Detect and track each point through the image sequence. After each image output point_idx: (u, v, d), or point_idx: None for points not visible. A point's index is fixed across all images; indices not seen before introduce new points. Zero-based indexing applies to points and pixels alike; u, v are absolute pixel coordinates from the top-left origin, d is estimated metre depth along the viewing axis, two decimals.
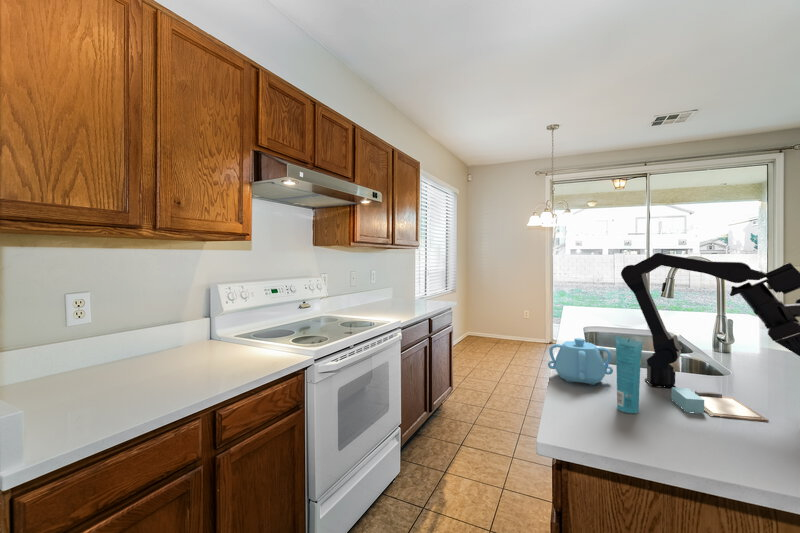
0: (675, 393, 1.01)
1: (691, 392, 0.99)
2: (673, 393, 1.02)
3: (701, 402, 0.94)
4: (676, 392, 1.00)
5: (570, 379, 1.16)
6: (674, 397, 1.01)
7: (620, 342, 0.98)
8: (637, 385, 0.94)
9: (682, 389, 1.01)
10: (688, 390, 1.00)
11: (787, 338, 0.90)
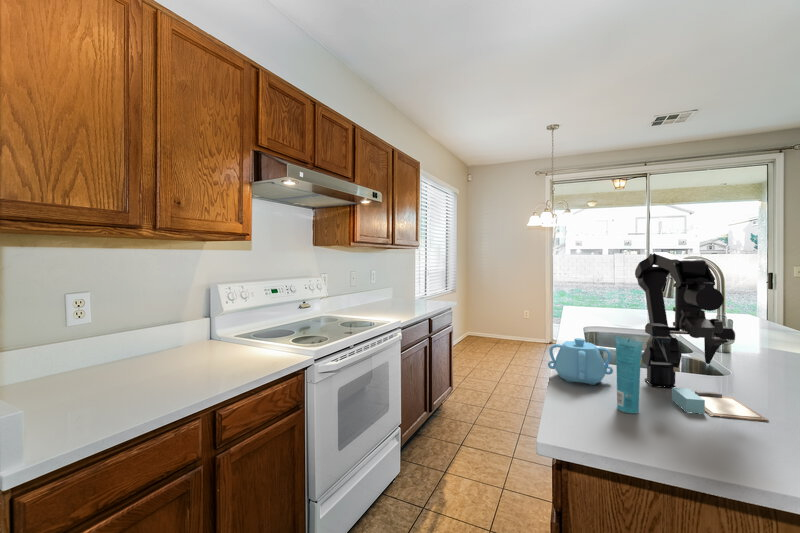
0: (675, 393, 1.01)
1: (691, 392, 0.99)
2: (673, 393, 1.02)
3: (701, 402, 0.94)
4: (676, 392, 1.00)
5: (570, 379, 1.16)
6: (674, 397, 1.01)
7: (620, 342, 0.98)
8: (637, 385, 0.94)
9: (683, 389, 1.01)
10: (688, 390, 1.00)
11: (653, 335, 1.01)
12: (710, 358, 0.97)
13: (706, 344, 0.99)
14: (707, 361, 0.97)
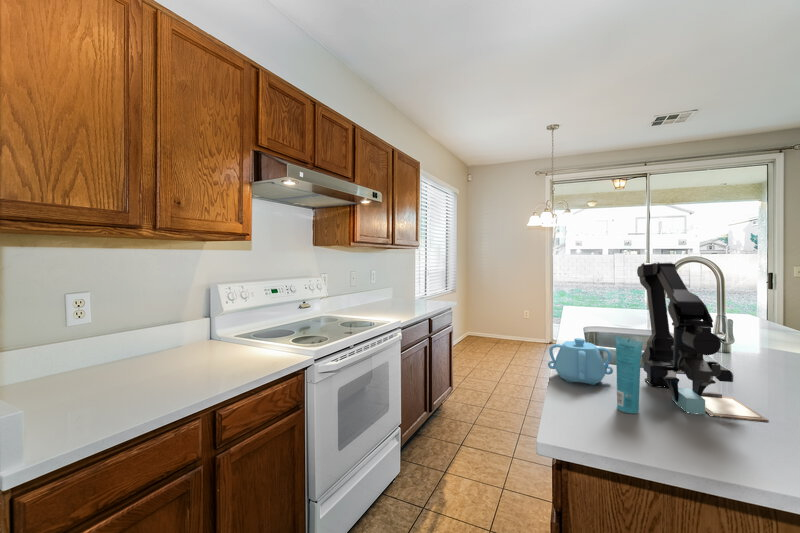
0: None
1: (692, 392, 0.99)
2: None
3: (702, 402, 0.94)
4: None
5: (570, 379, 1.16)
6: None
7: (620, 342, 0.98)
8: (637, 385, 0.94)
9: (683, 389, 1.01)
10: (689, 390, 1.00)
11: None
12: None
13: (694, 383, 1.00)
14: None
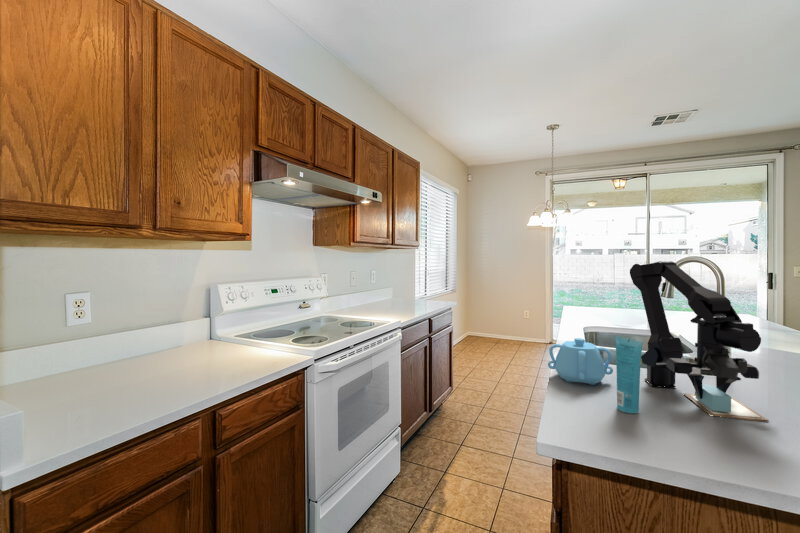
0: None
1: (716, 389, 0.98)
2: None
3: (728, 399, 0.93)
4: None
5: (570, 379, 1.16)
6: None
7: (620, 342, 0.98)
8: (637, 385, 0.94)
9: (707, 386, 1.00)
10: (713, 387, 0.99)
11: None
12: None
13: (718, 380, 0.99)
14: None
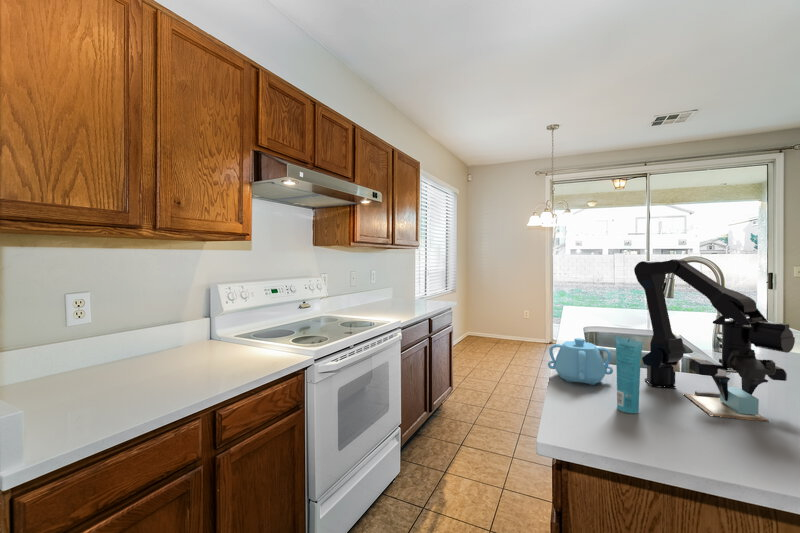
0: None
1: (742, 391, 0.96)
2: None
3: (755, 401, 0.91)
4: None
5: (570, 379, 1.16)
6: None
7: (620, 342, 0.98)
8: (637, 385, 0.94)
9: (732, 388, 0.98)
10: (738, 389, 0.98)
11: None
12: None
13: (743, 382, 0.97)
14: None
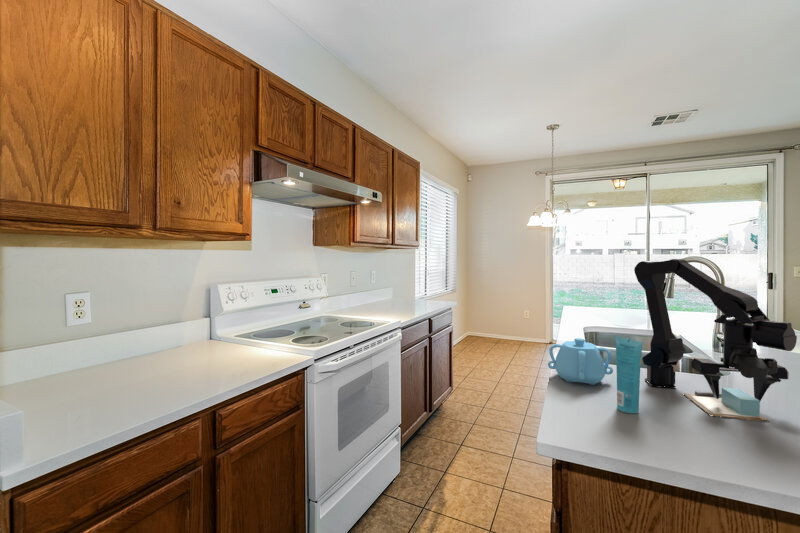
0: (726, 394, 0.98)
1: (744, 393, 0.96)
2: (724, 394, 0.99)
3: (756, 403, 0.91)
4: (727, 393, 0.97)
5: (570, 379, 1.16)
6: (725, 398, 0.99)
7: (620, 342, 0.98)
8: (637, 385, 0.94)
9: (734, 389, 0.98)
10: (740, 391, 0.98)
11: None
12: (760, 396, 0.95)
13: (756, 381, 0.97)
14: None
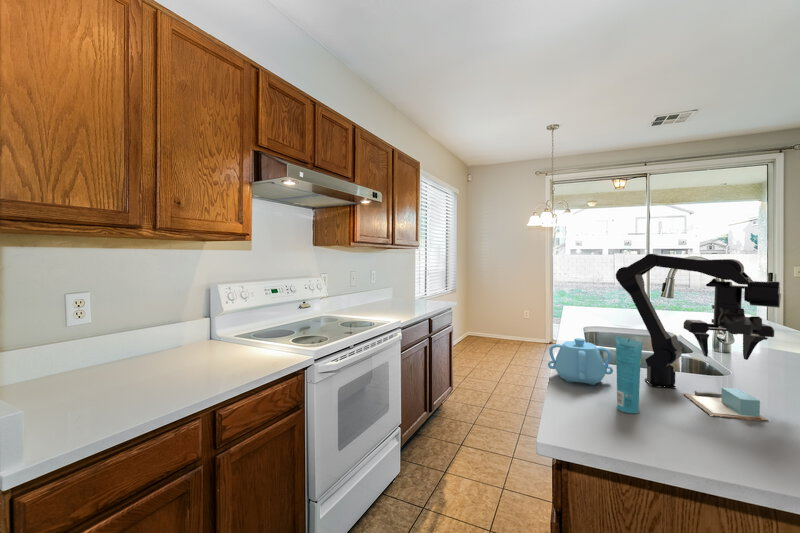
0: (726, 394, 0.98)
1: (744, 393, 0.96)
2: (724, 394, 0.99)
3: (756, 403, 0.91)
4: (727, 393, 0.97)
5: (570, 379, 1.16)
6: (725, 398, 0.99)
7: (620, 342, 0.98)
8: (637, 385, 0.94)
9: (734, 389, 0.98)
10: (740, 391, 0.98)
11: (691, 331, 1.06)
12: (748, 354, 1.01)
13: (745, 341, 1.03)
14: (745, 357, 1.02)
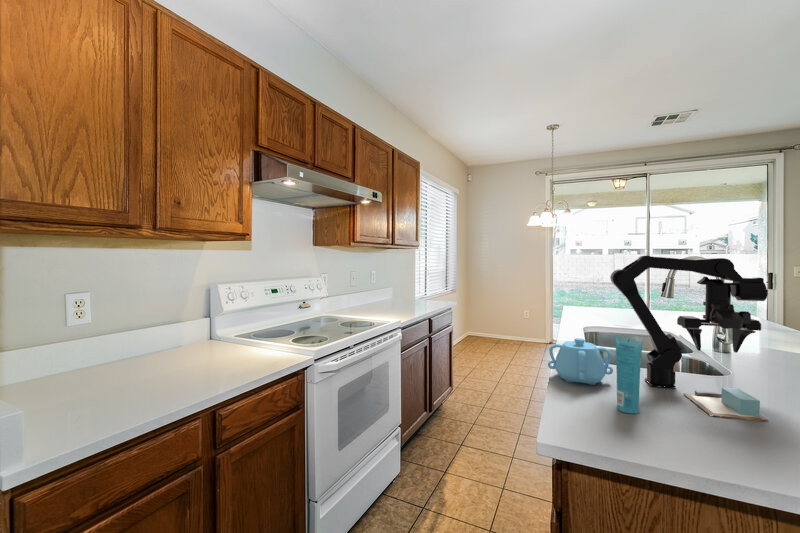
0: (726, 394, 0.98)
1: (744, 393, 0.96)
2: (724, 394, 0.99)
3: (756, 403, 0.91)
4: (727, 393, 0.97)
5: (570, 379, 1.16)
6: (725, 398, 0.99)
7: (620, 342, 0.98)
8: (637, 385, 0.94)
9: (734, 389, 0.98)
10: (740, 391, 0.98)
11: (685, 327, 1.12)
12: (738, 347, 1.07)
13: (734, 335, 1.09)
14: (735, 350, 1.08)
